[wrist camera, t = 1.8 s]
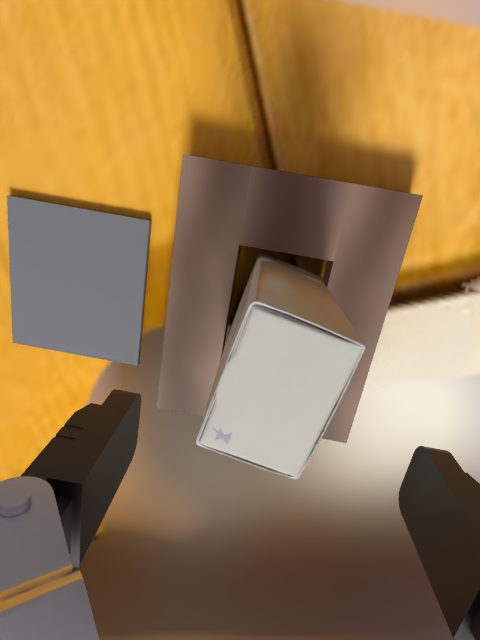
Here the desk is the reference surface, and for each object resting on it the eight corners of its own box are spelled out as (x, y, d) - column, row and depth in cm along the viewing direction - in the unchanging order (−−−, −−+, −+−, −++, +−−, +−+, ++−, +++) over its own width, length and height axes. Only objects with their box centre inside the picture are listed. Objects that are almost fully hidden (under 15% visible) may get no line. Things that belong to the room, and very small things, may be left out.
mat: (151, 220, 24) (149, 220, 23) (139, 363, 27) (137, 365, 27) (11, 195, 24) (7, 195, 24) (16, 340, 27) (12, 342, 27)
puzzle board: (409, 194, 22) (422, 195, 20) (341, 425, 27) (346, 442, 26) (190, 157, 22) (183, 154, 21) (164, 392, 28) (156, 407, 26)
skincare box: (285, 357, 26) (296, 490, 15) (226, 335, 26) (189, 452, 14) (324, 271, 24) (374, 347, 12) (260, 246, 24) (250, 299, 12)
